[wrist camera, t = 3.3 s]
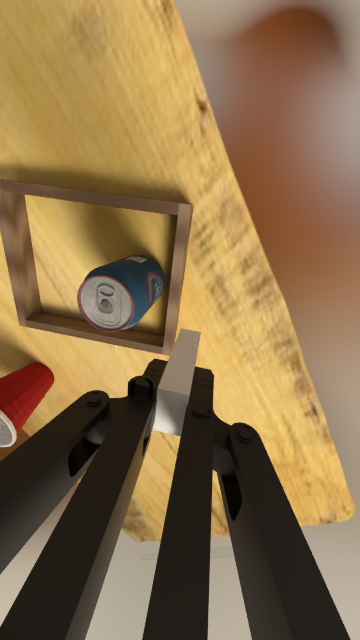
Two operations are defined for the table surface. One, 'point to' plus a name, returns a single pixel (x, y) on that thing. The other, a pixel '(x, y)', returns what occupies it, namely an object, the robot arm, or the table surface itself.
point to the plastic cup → (21, 398)
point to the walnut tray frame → (11, 219)
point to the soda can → (120, 292)
